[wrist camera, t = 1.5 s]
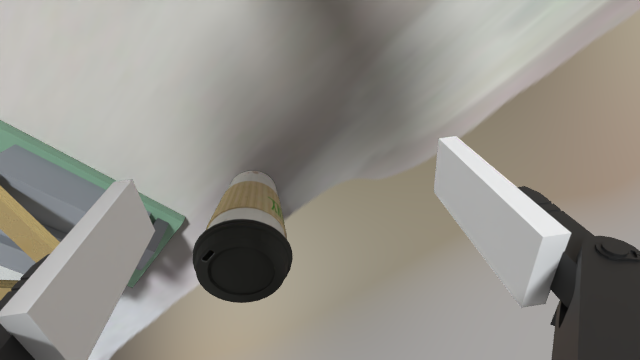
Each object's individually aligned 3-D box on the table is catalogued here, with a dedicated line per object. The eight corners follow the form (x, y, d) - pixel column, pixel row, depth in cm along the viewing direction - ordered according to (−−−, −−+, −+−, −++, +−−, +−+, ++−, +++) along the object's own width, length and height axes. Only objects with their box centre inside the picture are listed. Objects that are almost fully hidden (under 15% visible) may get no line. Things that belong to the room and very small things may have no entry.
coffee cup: (262, 231, 48) (254, 319, 35) (201, 197, 44) (168, 282, 31) (304, 184, 45) (313, 262, 32) (242, 143, 41) (225, 213, 28)
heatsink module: (-53, 204, 41) (-110, 240, 35) (-15, 112, 36) (-74, 136, 30) (135, 281, 51) (115, 321, 44) (185, 217, 46) (170, 251, 40)
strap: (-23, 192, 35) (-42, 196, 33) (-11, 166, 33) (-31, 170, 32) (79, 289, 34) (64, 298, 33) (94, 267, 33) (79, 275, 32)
